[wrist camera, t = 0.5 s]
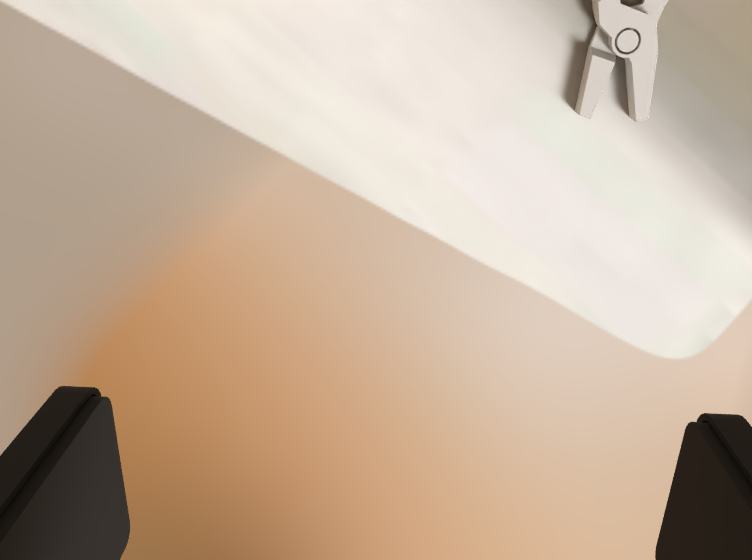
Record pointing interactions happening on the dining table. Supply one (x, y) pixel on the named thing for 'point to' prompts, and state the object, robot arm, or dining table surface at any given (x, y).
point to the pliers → (622, 54)
